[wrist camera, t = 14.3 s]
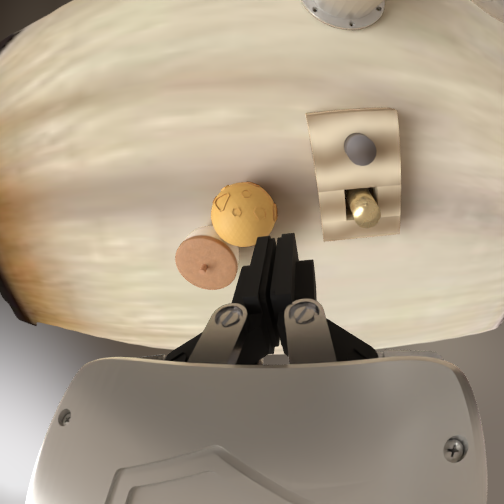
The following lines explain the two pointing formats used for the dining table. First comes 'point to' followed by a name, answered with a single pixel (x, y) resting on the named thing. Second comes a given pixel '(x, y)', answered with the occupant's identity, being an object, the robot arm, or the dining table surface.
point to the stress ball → (243, 214)
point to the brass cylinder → (363, 207)
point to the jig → (356, 167)
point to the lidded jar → (207, 259)
